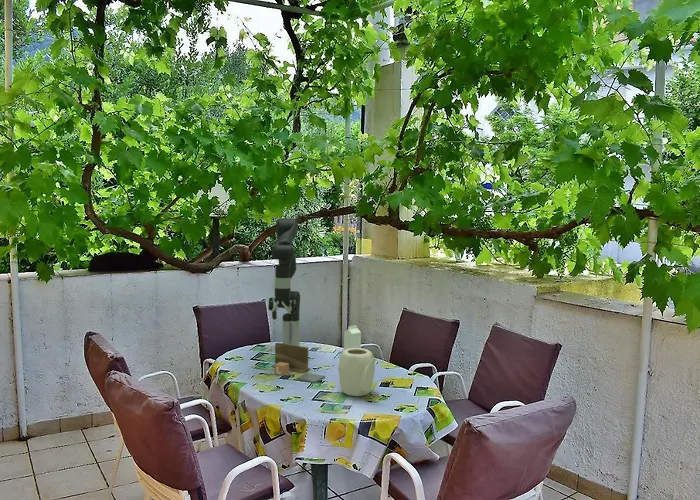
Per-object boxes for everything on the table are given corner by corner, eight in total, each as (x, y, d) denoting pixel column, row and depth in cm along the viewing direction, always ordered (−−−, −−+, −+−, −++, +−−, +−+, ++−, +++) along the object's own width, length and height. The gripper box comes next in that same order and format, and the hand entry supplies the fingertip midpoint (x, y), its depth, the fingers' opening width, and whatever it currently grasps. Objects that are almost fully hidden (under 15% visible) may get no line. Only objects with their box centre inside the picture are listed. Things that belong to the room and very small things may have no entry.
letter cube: (280, 371, 289) (280, 361, 288) (288, 373, 287) (289, 363, 286) (274, 374, 284) (274, 364, 284) (283, 376, 282) (283, 366, 282)
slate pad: (306, 374, 285) (306, 372, 285) (325, 377, 281) (325, 375, 281) (296, 380, 276) (296, 378, 276) (314, 383, 272) (314, 381, 272)
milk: (360, 369, 296) (361, 325, 294) (351, 371, 292) (352, 327, 290) (351, 366, 300) (353, 323, 298) (342, 368, 296) (344, 325, 294)
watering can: (358, 406, 244) (359, 361, 243) (327, 387, 267) (328, 346, 265) (389, 400, 252) (391, 356, 251) (356, 382, 275) (357, 342, 273)
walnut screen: (279, 364, 300) (279, 341, 299) (310, 370, 293) (310, 346, 291) (272, 367, 295) (272, 344, 294) (304, 373, 287) (304, 348, 286)
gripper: (299, 287, 282) (299, 320, 284) (274, 284, 288) (273, 317, 290) (291, 289, 275) (291, 323, 277) (265, 286, 281) (265, 320, 283)
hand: (282, 320), depth 283 cm, fingers open, 8 cm apart
